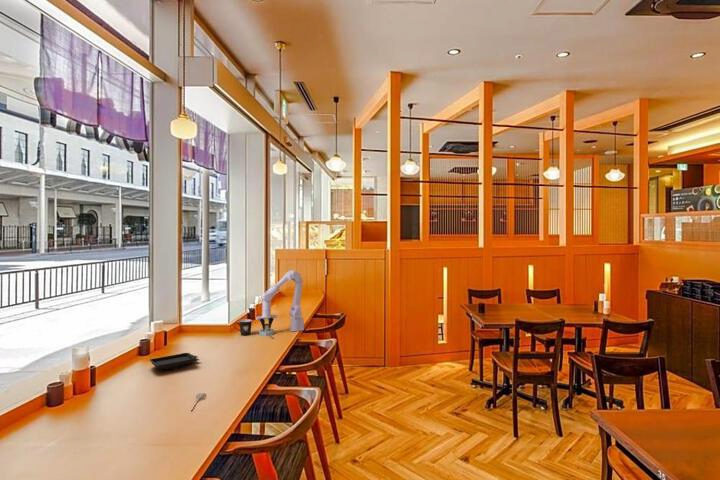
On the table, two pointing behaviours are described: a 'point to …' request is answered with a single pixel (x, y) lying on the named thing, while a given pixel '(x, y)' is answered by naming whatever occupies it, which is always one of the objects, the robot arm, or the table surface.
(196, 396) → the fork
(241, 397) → the table surface
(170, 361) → the tray
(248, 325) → the coffee mug
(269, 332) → the bead ring
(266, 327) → the needle dowel
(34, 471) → the table surface
